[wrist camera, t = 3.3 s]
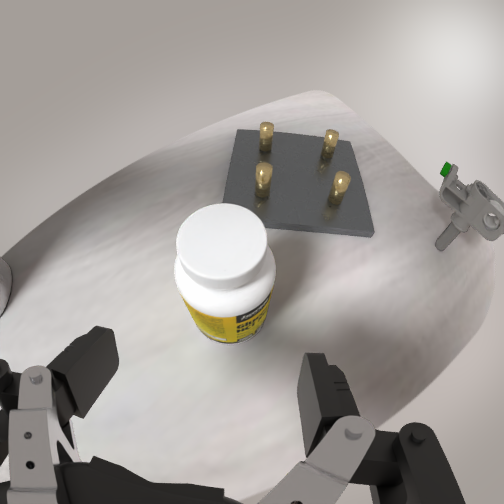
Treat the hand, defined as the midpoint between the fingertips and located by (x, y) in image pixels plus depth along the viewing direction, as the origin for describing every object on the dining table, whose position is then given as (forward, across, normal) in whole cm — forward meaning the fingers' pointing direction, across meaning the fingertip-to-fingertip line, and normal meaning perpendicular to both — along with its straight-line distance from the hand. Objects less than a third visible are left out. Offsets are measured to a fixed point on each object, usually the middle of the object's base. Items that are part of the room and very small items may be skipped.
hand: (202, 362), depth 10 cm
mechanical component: (+19, -24, -3) cm, 31 cm away
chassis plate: (+24, -6, -8) cm, 26 cm away
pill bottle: (+12, 0, +4) cm, 13 cm away
